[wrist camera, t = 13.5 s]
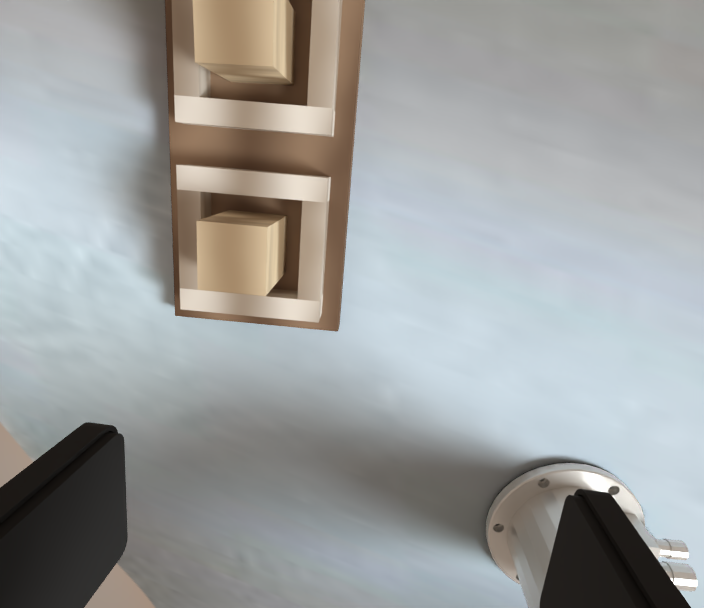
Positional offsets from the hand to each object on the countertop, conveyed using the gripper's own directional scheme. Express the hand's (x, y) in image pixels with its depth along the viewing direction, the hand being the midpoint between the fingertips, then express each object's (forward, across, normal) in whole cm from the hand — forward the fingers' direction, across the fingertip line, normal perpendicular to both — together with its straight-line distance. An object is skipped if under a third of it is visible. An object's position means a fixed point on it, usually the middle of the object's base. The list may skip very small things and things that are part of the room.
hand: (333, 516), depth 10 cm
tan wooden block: (+23, +8, -14) cm, 28 cm away
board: (+24, +8, -8) cm, 27 cm away
